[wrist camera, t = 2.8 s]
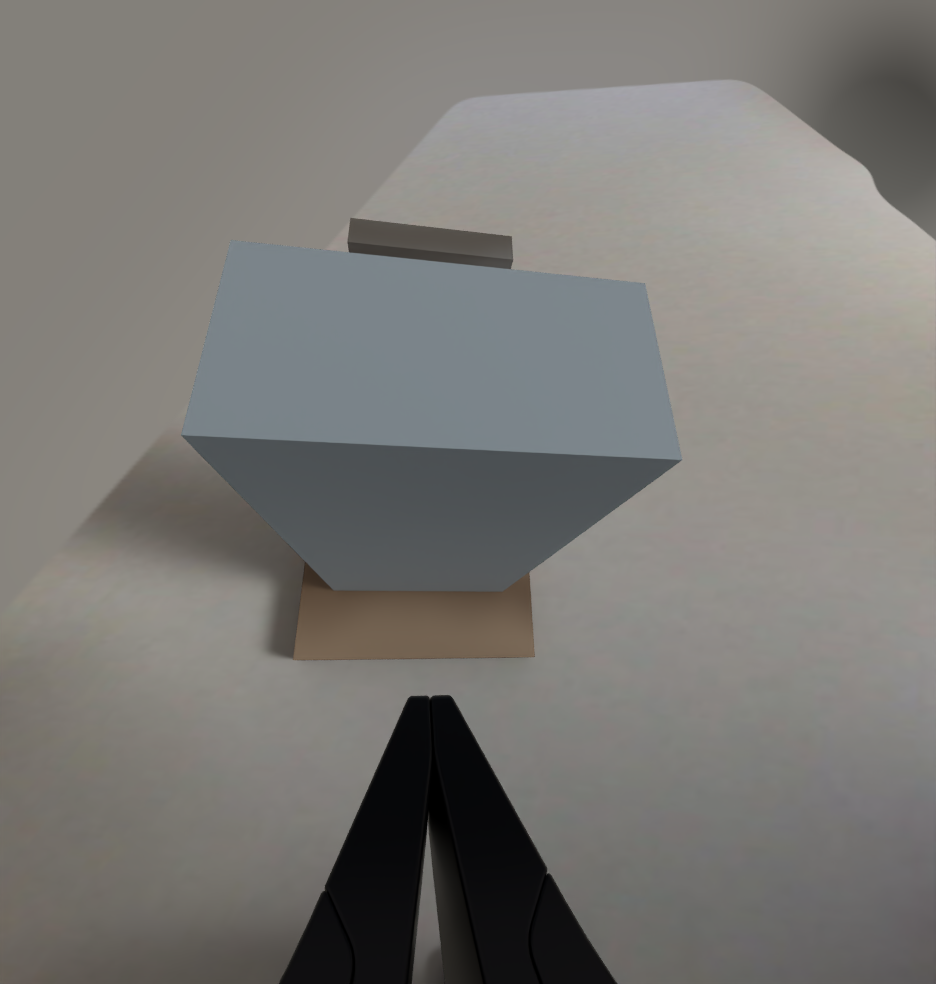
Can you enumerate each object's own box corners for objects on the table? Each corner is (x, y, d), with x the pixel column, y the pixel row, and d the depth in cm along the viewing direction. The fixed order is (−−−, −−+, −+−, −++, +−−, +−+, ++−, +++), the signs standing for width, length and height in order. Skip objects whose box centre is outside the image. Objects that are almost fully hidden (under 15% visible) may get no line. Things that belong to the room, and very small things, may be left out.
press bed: (528, 657, 22) (582, 654, 15) (299, 660, 20) (248, 658, 14) (509, 336, 29) (540, 239, 22) (339, 322, 28) (318, 214, 21)
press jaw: (502, 591, 21) (682, 459, 7) (333, 590, 20) (181, 435, 6) (499, 514, 23) (644, 283, 9) (341, 509, 22) (230, 240, 8)
